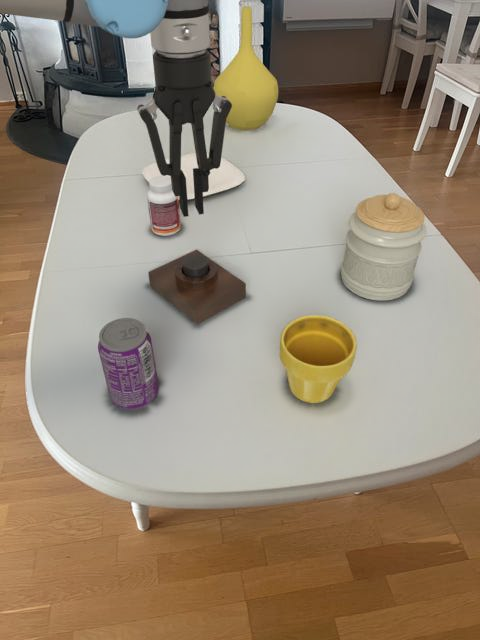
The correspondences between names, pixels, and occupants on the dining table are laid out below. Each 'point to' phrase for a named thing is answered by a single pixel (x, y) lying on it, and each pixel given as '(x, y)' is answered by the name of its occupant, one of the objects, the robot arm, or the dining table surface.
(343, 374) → the flower pot
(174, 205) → the pill bottle
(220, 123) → the robot arm
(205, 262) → the button
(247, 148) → the dining table surface
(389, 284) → the jar
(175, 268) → the button box
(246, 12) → the vase
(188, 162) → the plate
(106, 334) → the beverage can
